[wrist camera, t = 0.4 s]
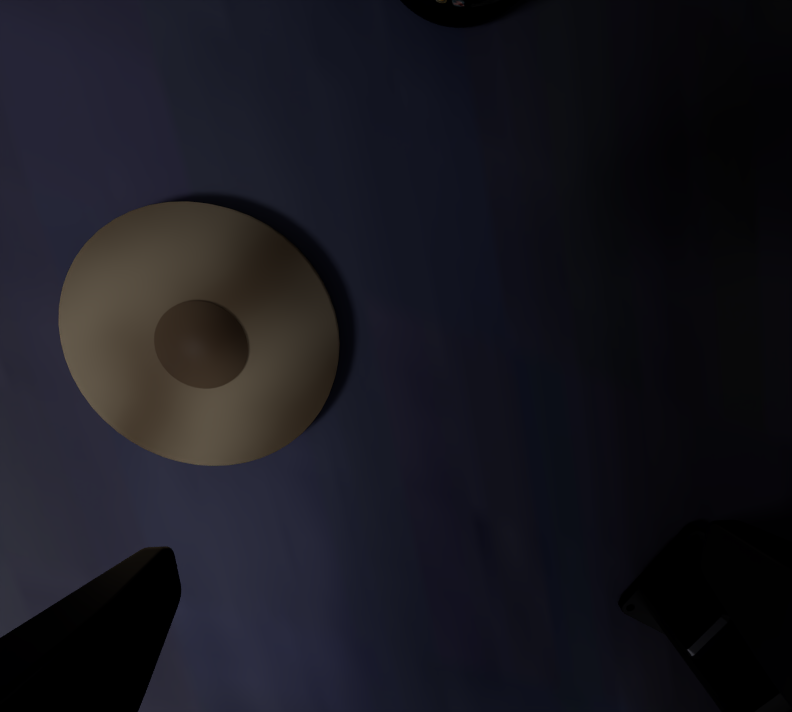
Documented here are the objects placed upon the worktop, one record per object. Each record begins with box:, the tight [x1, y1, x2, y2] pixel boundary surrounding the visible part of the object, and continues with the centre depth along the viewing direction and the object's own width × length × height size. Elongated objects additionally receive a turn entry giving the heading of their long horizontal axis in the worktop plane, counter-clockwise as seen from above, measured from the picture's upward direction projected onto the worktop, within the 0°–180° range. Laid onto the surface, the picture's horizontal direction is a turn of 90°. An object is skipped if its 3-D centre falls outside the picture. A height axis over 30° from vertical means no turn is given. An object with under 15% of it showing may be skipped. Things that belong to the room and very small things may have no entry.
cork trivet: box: [59, 201, 340, 466], centre depth 19 cm, size 12×12×1 cm
